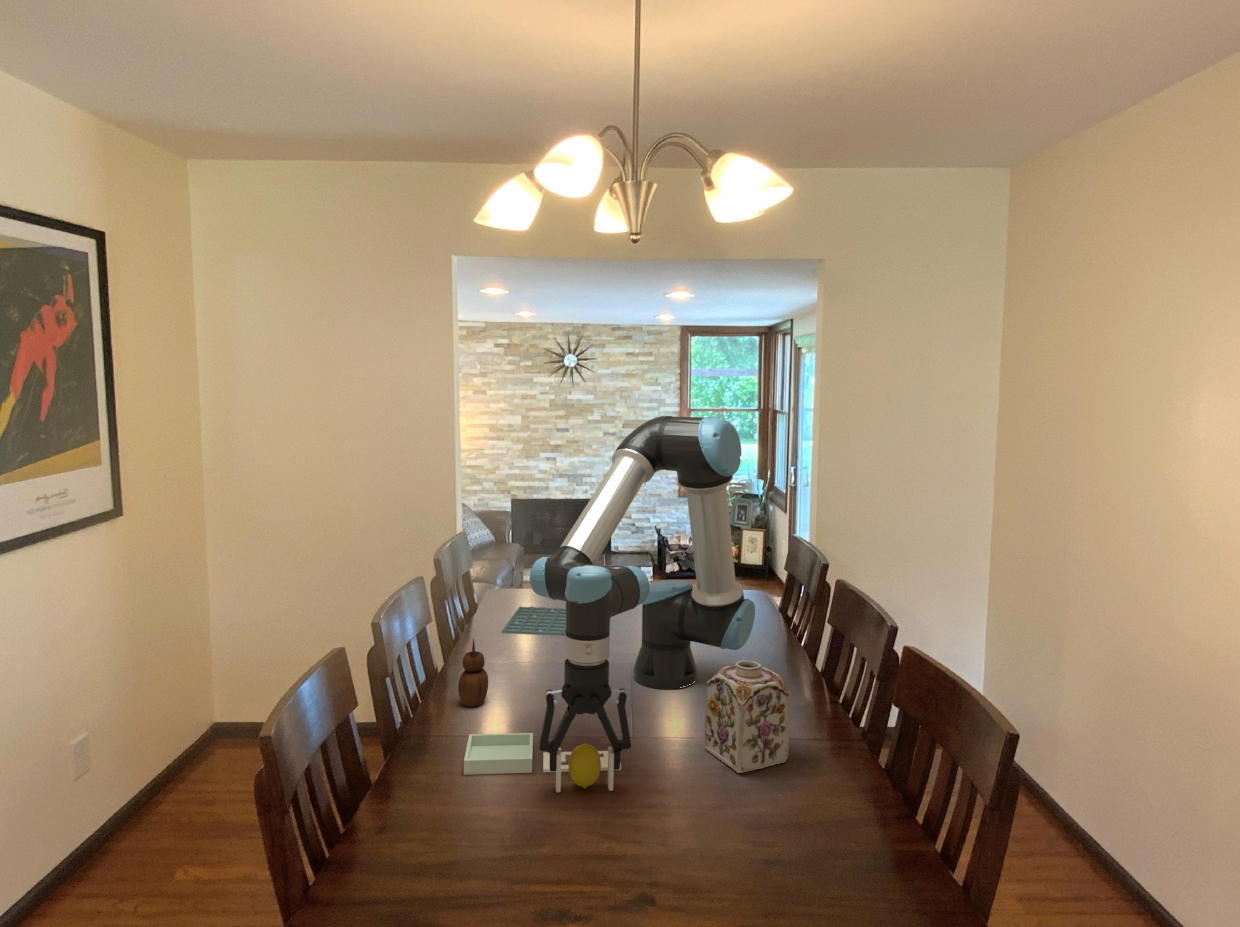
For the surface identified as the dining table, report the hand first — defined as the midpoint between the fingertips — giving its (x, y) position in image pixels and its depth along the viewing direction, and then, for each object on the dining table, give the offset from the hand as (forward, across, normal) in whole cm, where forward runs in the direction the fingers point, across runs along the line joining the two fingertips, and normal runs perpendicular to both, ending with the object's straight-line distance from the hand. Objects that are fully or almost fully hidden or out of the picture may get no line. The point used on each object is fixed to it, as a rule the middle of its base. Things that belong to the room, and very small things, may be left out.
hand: (584, 787), depth 133 cm
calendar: (0, -2, +96) cm, 96 cm away
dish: (0, -15, +11) cm, 19 cm away
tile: (0, 0, +9) cm, 9 cm away
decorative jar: (0, +31, +10) cm, 33 cm away
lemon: (0, 0, 0) cm, 0 cm away
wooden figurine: (0, -22, +37) cm, 43 cm away
